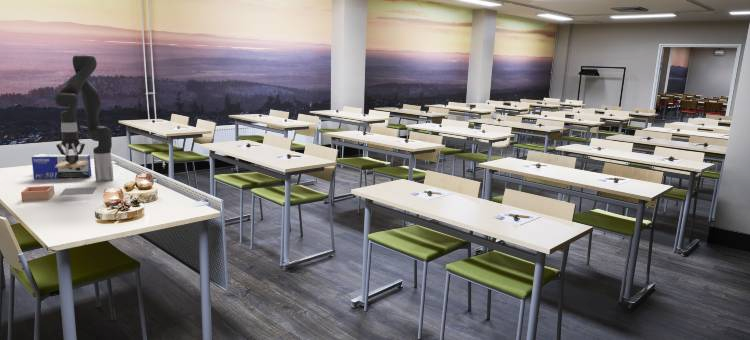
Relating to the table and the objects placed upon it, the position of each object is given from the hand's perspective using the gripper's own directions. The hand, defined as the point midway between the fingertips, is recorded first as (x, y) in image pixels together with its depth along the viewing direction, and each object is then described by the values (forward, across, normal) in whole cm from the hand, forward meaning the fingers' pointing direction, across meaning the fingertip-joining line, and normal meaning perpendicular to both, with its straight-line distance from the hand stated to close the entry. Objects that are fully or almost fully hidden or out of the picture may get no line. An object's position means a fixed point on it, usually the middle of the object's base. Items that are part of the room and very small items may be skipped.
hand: (72, 161), depth 274 cm
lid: (+2, 0, 0) cm, 2 cm away
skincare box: (+17, +27, -59) cm, 67 cm away
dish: (+17, +15, +8) cm, 25 cm away
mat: (+17, -2, -1) cm, 17 cm away
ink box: (+18, +13, -42) cm, 48 cm away
